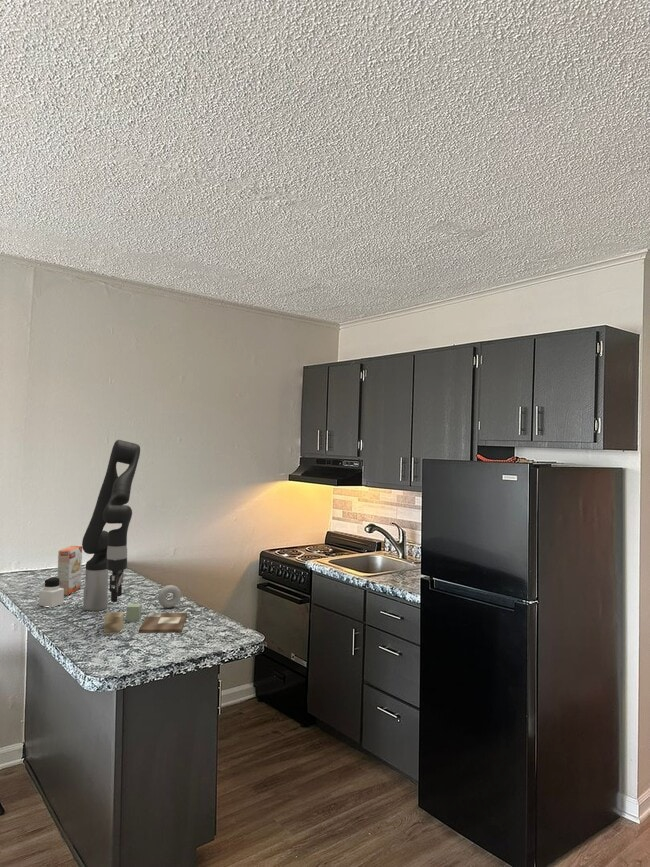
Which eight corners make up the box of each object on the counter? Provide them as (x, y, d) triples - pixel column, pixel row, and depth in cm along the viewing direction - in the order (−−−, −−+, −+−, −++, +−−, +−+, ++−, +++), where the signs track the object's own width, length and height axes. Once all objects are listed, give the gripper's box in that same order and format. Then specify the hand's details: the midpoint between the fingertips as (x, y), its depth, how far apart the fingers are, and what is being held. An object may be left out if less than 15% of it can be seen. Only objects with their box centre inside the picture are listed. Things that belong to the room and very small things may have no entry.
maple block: (104, 632, 234) (104, 617, 234) (107, 627, 240) (108, 612, 240) (120, 632, 235) (120, 616, 235) (123, 627, 241) (123, 612, 241)
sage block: (126, 621, 248) (126, 606, 248) (128, 618, 253) (129, 603, 253) (138, 621, 249) (139, 606, 249) (141, 618, 254) (141, 603, 254)
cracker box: (69, 596, 284) (70, 550, 284) (56, 595, 284) (57, 550, 284) (81, 588, 298) (82, 545, 298) (69, 588, 298) (70, 545, 298)
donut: (158, 610, 265) (159, 587, 265) (156, 608, 268) (157, 585, 268) (181, 607, 270) (182, 584, 270) (179, 605, 273) (180, 583, 273)
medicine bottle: (63, 604, 270) (64, 577, 270) (51, 608, 263) (52, 580, 264) (50, 602, 273) (51, 575, 273) (38, 606, 266) (39, 578, 266)
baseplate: (138, 632, 234) (138, 629, 235) (148, 615, 256) (148, 612, 256) (181, 632, 236) (181, 628, 236) (187, 615, 258) (187, 612, 258)
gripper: (110, 553, 244) (110, 594, 244) (102, 560, 230) (102, 604, 230) (130, 553, 245) (129, 594, 245) (123, 560, 231) (122, 603, 231)
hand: (116, 598), depth 238 cm, fingers open, 8 cm apart
